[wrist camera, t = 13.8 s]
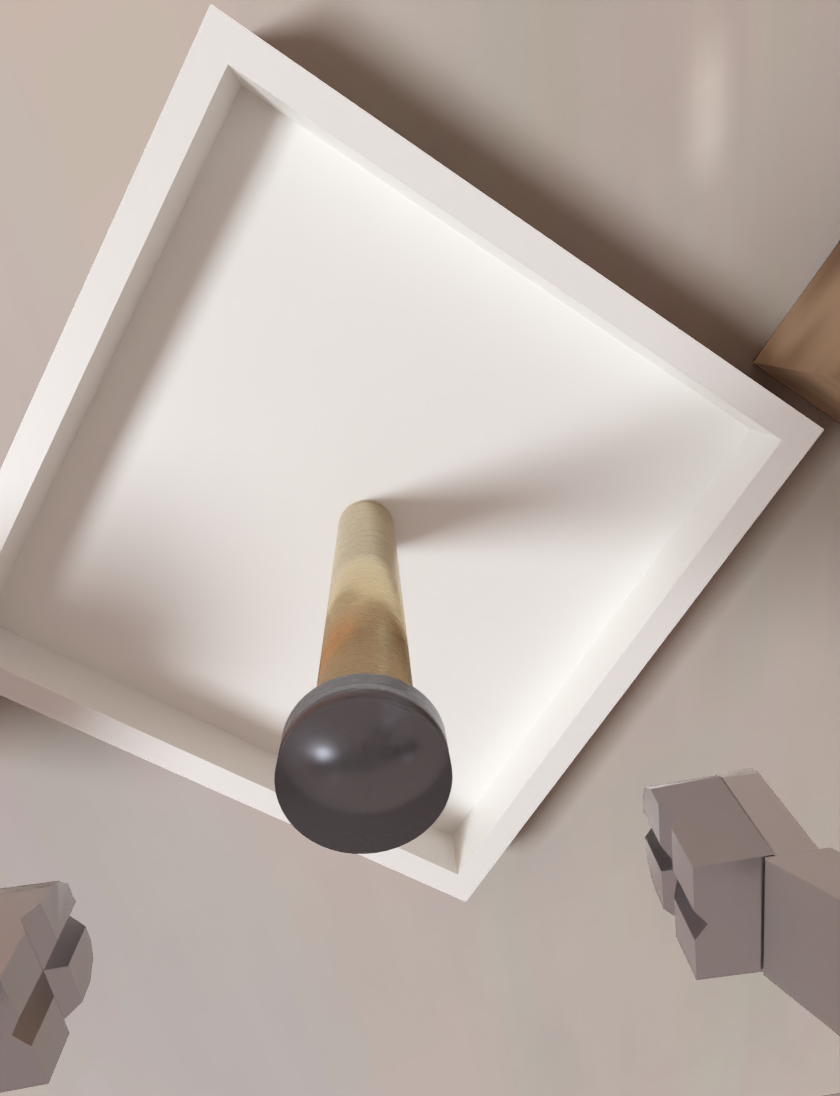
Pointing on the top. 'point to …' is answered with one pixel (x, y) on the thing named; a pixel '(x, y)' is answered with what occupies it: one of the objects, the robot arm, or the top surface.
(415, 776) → the brass pin
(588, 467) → the off-white tray
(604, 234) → the top surface
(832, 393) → the walnut block
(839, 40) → the top surface
